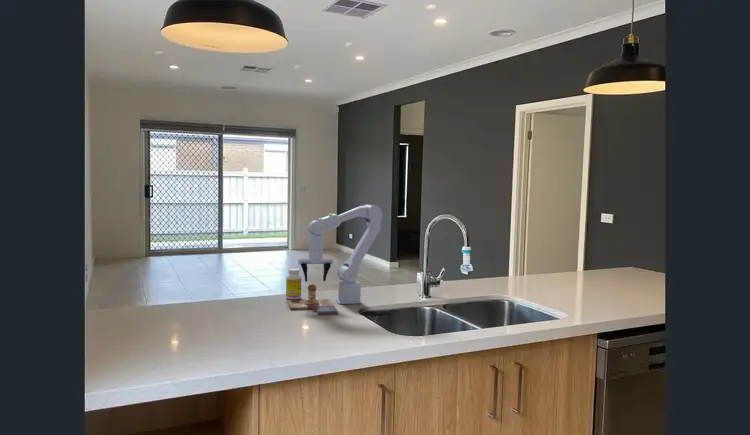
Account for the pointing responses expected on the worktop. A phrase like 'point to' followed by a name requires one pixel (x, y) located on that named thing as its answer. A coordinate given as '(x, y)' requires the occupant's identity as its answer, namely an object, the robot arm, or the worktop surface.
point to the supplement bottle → (293, 284)
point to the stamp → (311, 296)
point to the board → (302, 306)
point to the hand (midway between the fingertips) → (315, 281)
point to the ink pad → (326, 311)
